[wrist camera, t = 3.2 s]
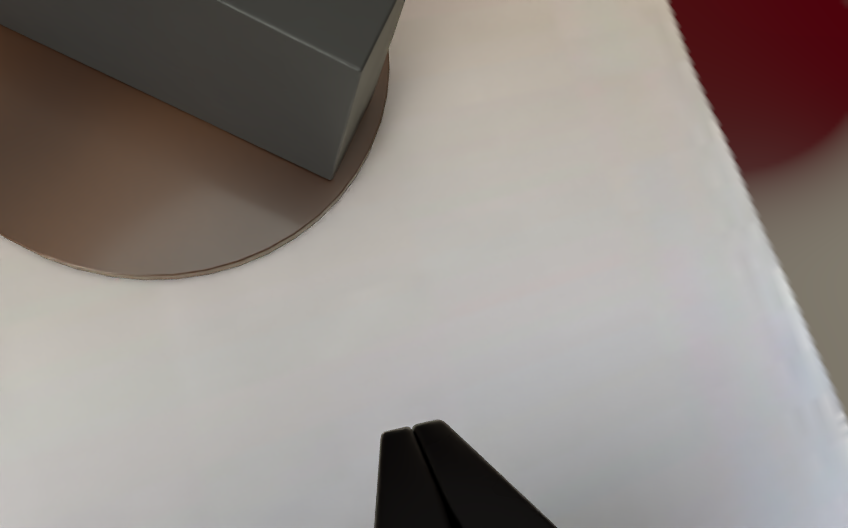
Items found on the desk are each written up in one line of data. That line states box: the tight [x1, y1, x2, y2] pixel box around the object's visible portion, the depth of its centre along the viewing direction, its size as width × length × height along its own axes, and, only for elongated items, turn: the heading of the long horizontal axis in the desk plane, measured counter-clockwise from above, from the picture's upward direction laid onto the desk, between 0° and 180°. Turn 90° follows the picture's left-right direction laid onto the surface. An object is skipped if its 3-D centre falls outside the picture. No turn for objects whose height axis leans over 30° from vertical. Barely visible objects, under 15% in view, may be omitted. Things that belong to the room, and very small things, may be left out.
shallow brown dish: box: [0, 24, 389, 280], centre depth 19 cm, size 13×13×1 cm
